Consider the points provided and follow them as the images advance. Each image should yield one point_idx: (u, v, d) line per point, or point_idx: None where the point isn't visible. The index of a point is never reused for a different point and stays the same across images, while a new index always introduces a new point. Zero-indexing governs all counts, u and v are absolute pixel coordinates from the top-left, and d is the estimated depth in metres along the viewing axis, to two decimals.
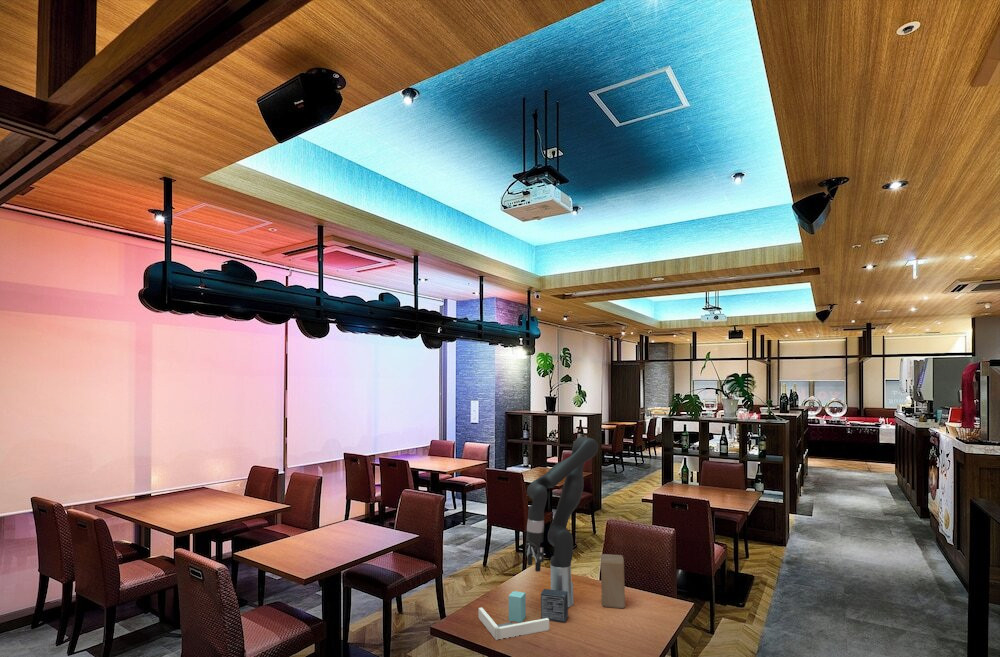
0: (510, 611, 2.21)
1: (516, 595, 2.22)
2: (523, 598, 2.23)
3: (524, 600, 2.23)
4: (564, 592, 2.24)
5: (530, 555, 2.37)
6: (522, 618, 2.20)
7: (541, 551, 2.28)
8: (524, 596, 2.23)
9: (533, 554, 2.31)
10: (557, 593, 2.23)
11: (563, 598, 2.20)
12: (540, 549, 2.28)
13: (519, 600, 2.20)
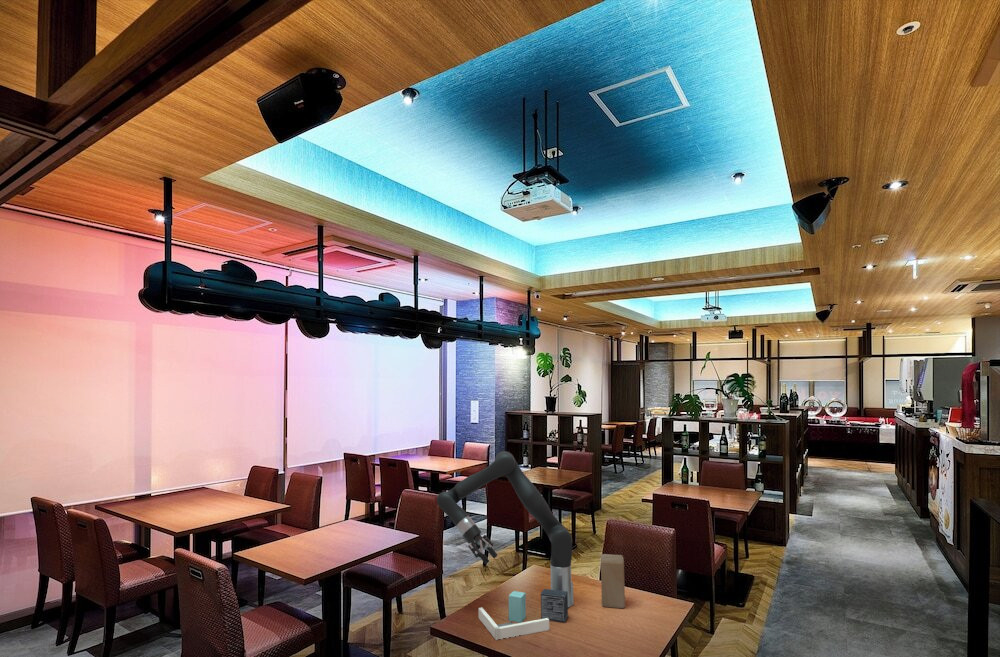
0: (510, 611, 2.21)
1: (516, 595, 2.22)
2: (524, 598, 2.23)
3: (524, 600, 2.23)
4: (564, 592, 2.24)
5: (489, 549, 2.34)
6: (522, 618, 2.20)
7: (472, 547, 2.26)
8: (524, 596, 2.23)
9: (476, 551, 2.29)
10: (557, 593, 2.23)
11: (563, 598, 2.20)
12: (470, 546, 2.26)
13: (519, 600, 2.20)
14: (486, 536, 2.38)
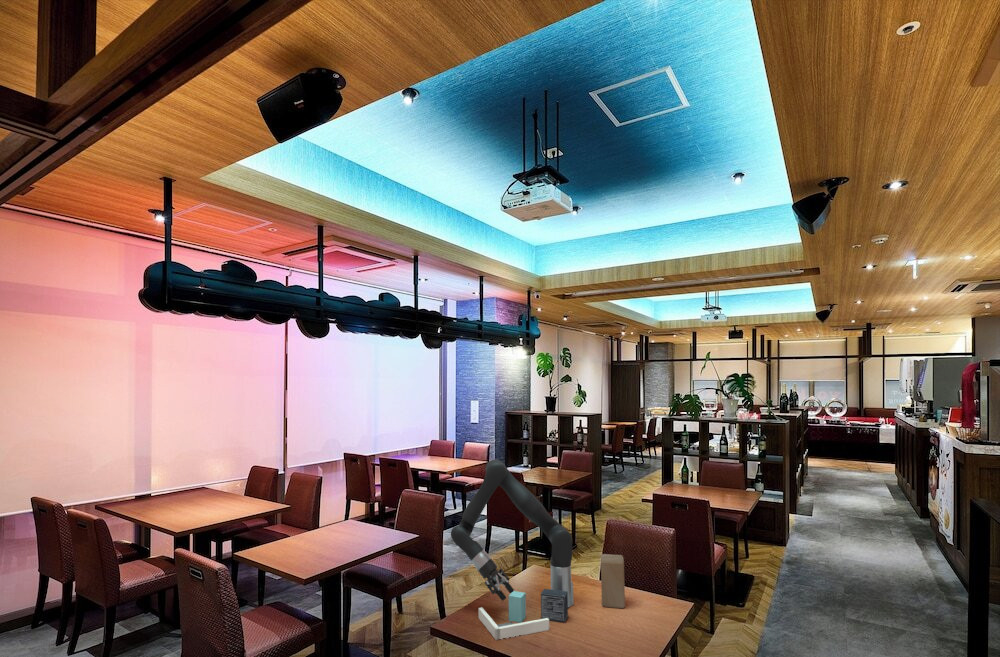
0: (510, 611, 2.21)
1: (516, 595, 2.22)
2: (524, 598, 2.23)
3: (524, 600, 2.23)
4: (564, 592, 2.24)
5: (506, 583, 2.30)
6: (522, 618, 2.20)
7: (488, 583, 2.22)
8: (524, 596, 2.23)
9: (493, 587, 2.25)
10: (557, 593, 2.23)
11: (563, 598, 2.20)
12: (486, 582, 2.22)
13: (519, 600, 2.20)
14: (502, 570, 2.34)
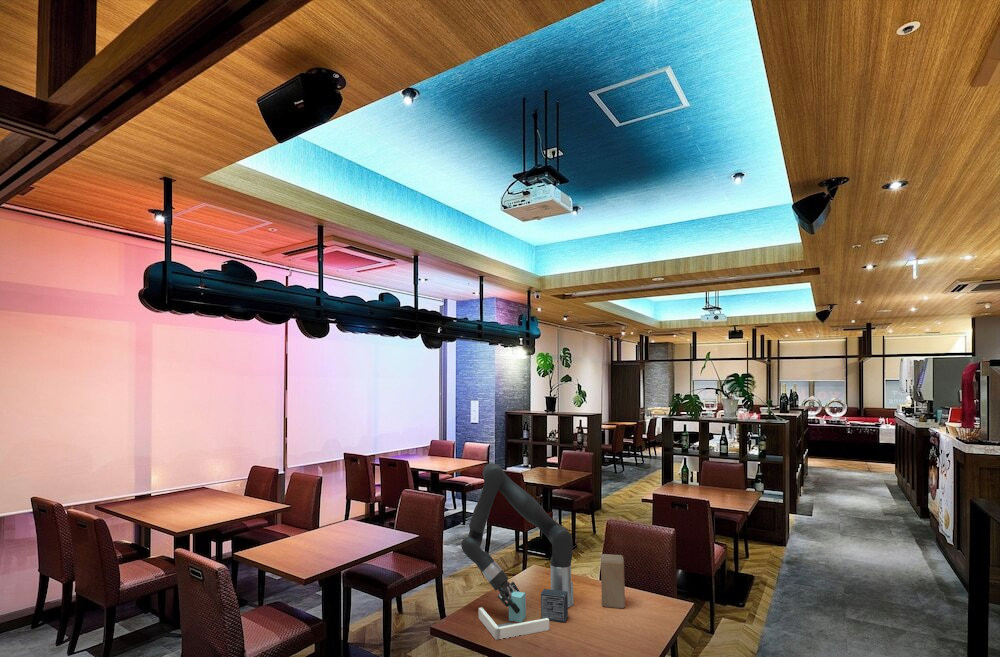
0: (510, 611, 2.21)
1: (516, 595, 2.22)
2: (524, 598, 2.23)
3: (524, 600, 2.23)
4: (564, 592, 2.24)
5: None
6: (522, 618, 2.20)
7: (501, 597, 2.19)
8: (524, 596, 2.23)
9: (505, 599, 2.23)
10: (557, 593, 2.23)
11: (563, 598, 2.20)
12: (499, 596, 2.19)
13: (519, 600, 2.20)
14: (514, 583, 2.31)
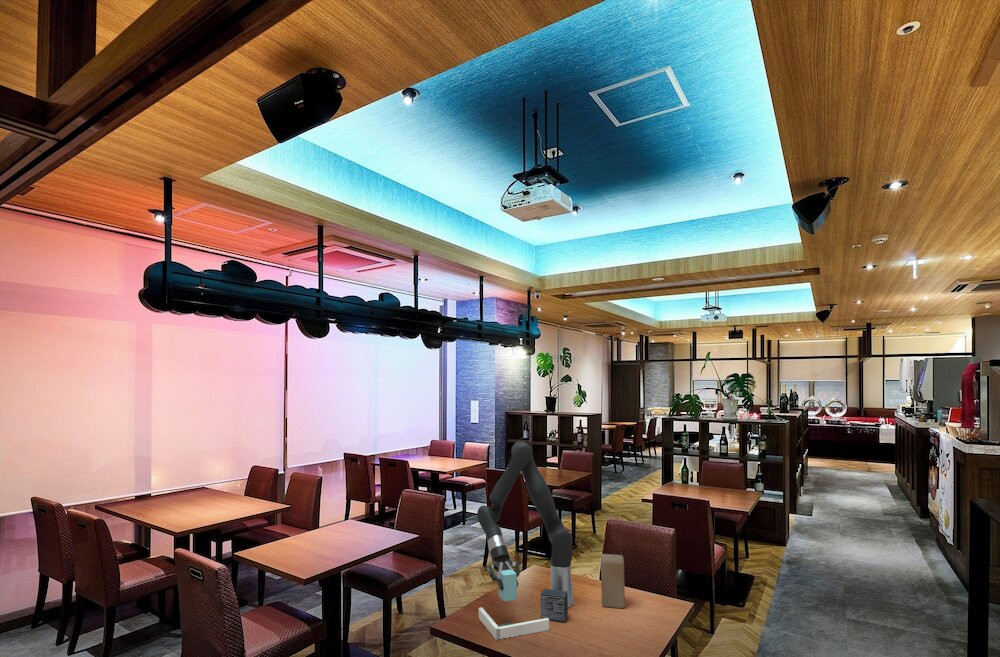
0: None
1: (504, 572, 2.16)
2: (512, 577, 2.14)
3: (513, 580, 2.14)
4: (564, 592, 2.24)
5: None
6: (508, 597, 2.12)
7: (488, 569, 2.18)
8: (513, 576, 2.14)
9: None
10: (557, 593, 2.23)
11: (563, 598, 2.20)
12: (487, 568, 2.19)
13: (503, 578, 2.13)
14: (518, 563, 2.22)
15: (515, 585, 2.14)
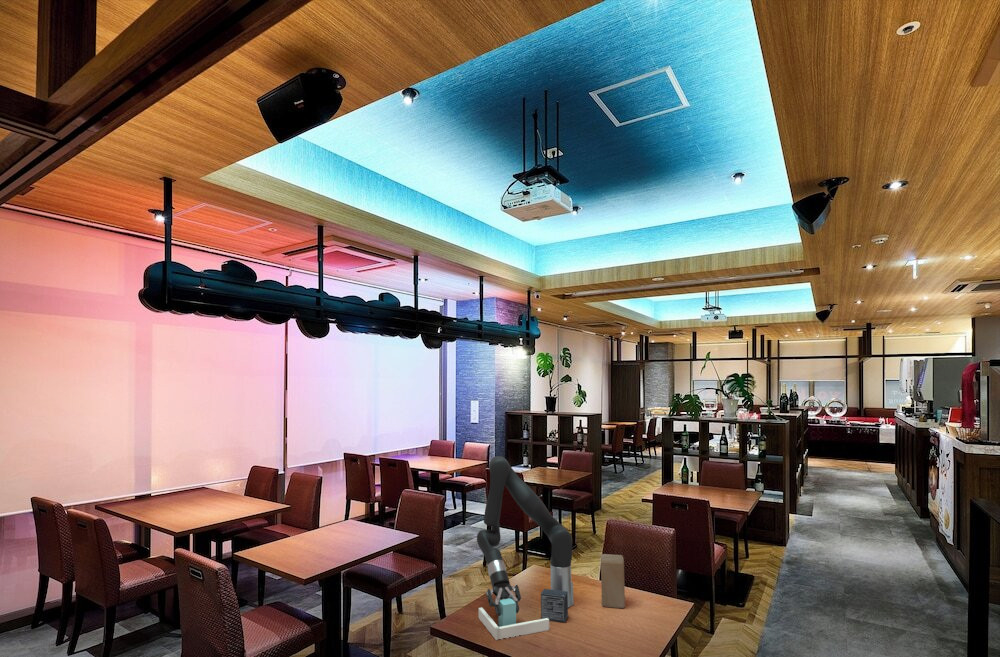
0: (499, 616, 2.15)
1: (504, 602, 2.14)
2: (511, 607, 2.13)
3: (513, 610, 2.13)
4: (564, 592, 2.24)
5: None
6: None
7: (487, 594, 2.17)
8: (513, 606, 2.13)
9: None
10: (557, 593, 2.23)
11: (563, 598, 2.20)
12: (486, 592, 2.18)
13: (502, 608, 2.12)
14: (518, 587, 2.22)
15: (514, 615, 2.13)
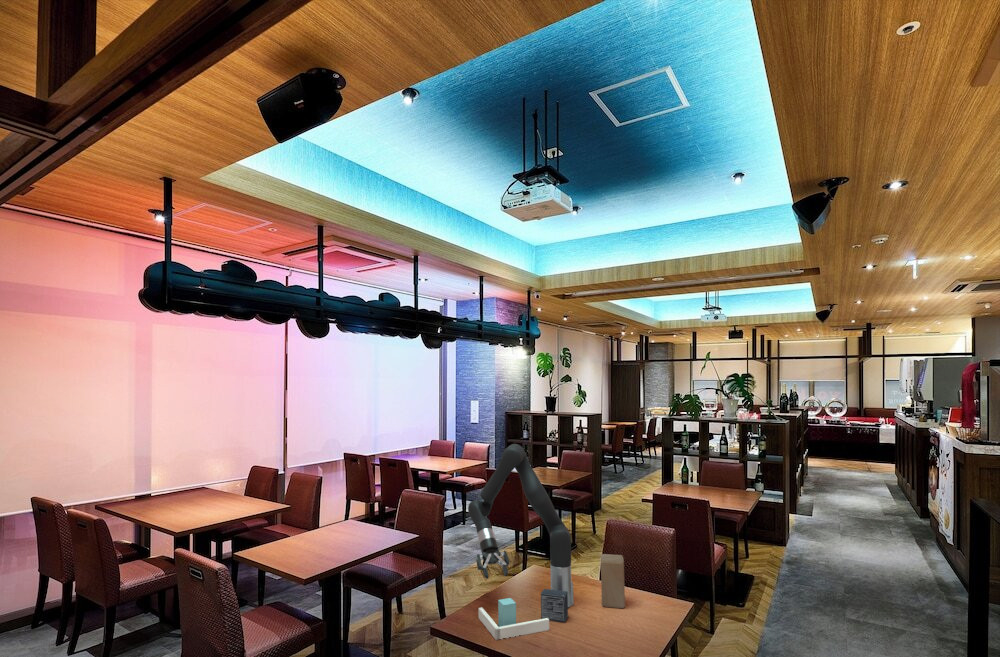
0: (499, 616, 2.15)
1: (504, 602, 2.14)
2: (511, 607, 2.13)
3: (513, 610, 2.13)
4: (564, 592, 2.24)
5: (503, 566, 2.31)
6: None
7: (476, 558, 2.30)
8: (513, 606, 2.13)
9: None
10: (557, 593, 2.23)
11: (563, 598, 2.20)
12: (476, 557, 2.31)
13: (502, 608, 2.12)
14: (506, 552, 2.35)
15: (514, 615, 2.13)
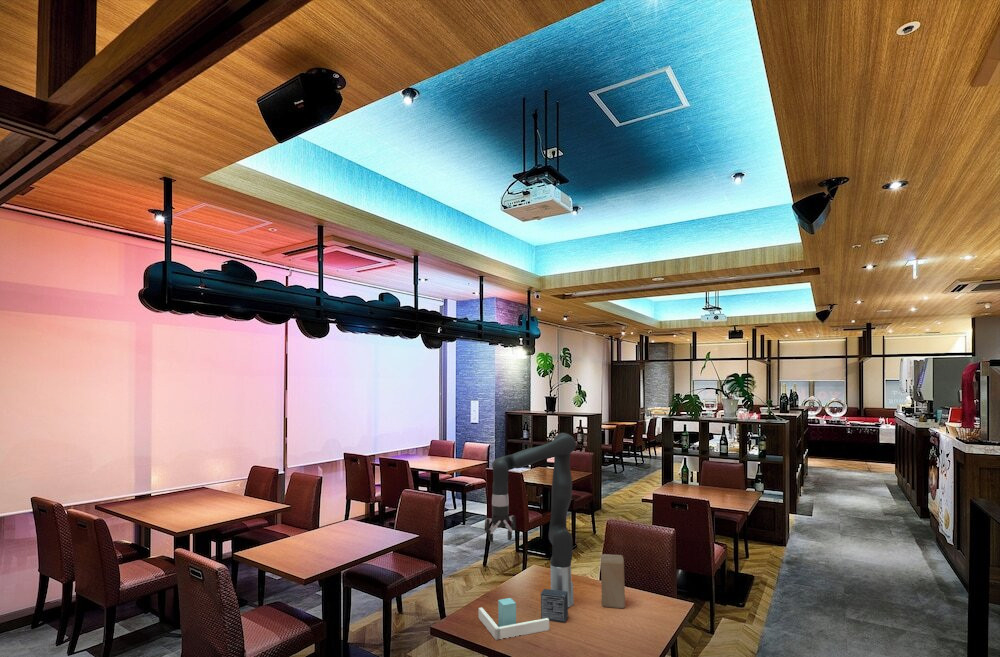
0: (499, 616, 2.15)
1: (504, 602, 2.14)
2: (511, 607, 2.13)
3: (513, 610, 2.13)
4: (564, 592, 2.24)
5: (508, 530, 2.39)
6: None
7: (486, 522, 2.35)
8: (513, 606, 2.13)
9: None
10: (557, 593, 2.23)
11: (563, 598, 2.20)
12: (485, 519, 2.36)
13: (502, 608, 2.12)
14: None
15: (514, 615, 2.13)
